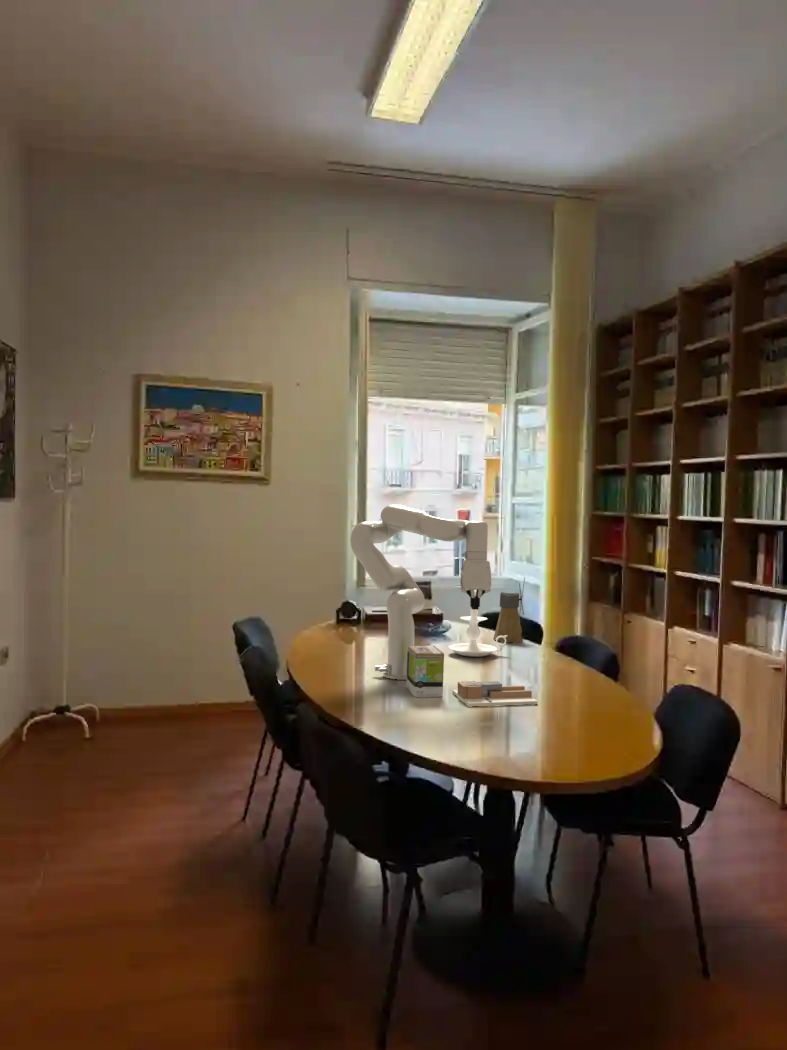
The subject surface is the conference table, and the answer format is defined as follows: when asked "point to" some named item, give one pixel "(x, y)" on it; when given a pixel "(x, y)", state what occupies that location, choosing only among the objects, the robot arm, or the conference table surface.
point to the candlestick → (473, 634)
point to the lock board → (493, 695)
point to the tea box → (425, 671)
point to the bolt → (486, 686)
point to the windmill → (509, 617)
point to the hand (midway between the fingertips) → (474, 609)
